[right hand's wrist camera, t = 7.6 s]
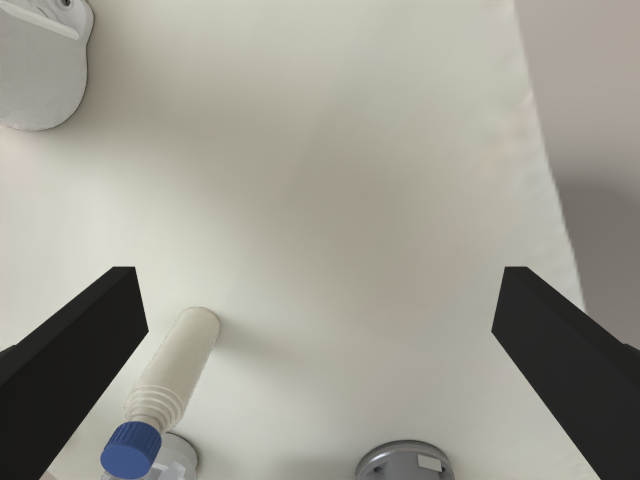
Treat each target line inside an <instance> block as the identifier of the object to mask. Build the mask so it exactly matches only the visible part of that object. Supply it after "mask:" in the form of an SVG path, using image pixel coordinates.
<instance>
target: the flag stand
mask: <svg viewBox="0 0 640 480" xmlns="http://www.w3.org/2000/svg"><path fill="white" fill-rule="evenodd" d="M161 438H162V443H161V448H160V450H159V452H158V454H157V456H156V459H155V461H154V463H153V465H152V467H151V468H150V470H149V472H148V473H147V474H146V475H145V476H143V477H141V478H138V479H122V478H118V477H116V476H113V475H112V474H110V473H109V472H107V471H105V472H104V474H103V476H102V478H101V480H198V477H197V472H196V470H195V469H196V466H197V460H198V459H197V454H196V452H195V450H194V449H193V447H192V446H191V445H190V444H189V443H188V442H186V441H185V440H183V439H182V438H180V437H178V436H176V435H173V434H169V433H164V434H162V435H161Z"/></svg>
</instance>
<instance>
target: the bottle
mask: <svg viewBox="0 0 640 480" xmlns="http://www.w3.org/2000/svg"><path fill="white" fill-rule="evenodd" d="M219 332H220V322H219V320H218V318H217V317H216V315H215V314H214V313H212V312H211V311H209V310H207V309H204V308H200V307H193V308H189V309H187V310H185V311H183V312H182V313H181V315H180V316H179V318H178V319H177V321H176V322H175V324H174V325H173V327H172V328H171V330H170V331H169V333H168V334H167V336H166V338H165V339H164V341H163V342H162V344H161V345H160V347H159V348H158V350H157V351H156V353H155V354H154V356H153V358H152V359H151V361H150V362H149V364H148V365H147V367H146V368H145V370H144V371H143V373H142V374H141V376H140V377H139V379H138V381H137V382H136V384H135V385H134V387H133V388H132V390H131V391H130V393H129V394H128V396H127V399H126V403H125V415H126V422H130V421H140V422H144V423H147V424H149V425H151V426H153V427H154V428H155V429H156V430H157V431H158V432H159V433H160V435H162V434H164V433H165V432H167V431H169V430H170V429H172V428H173V427H175V426H176V425H177V424H178V422H180V420H181V419H182V418H183V416H184V413H185V411H186V409H187V406H188V404H189V402H190V399H191V397H192V395H193V393H194V390H195V388H196V386H197V383H198V381H199V379H200V376H201V374H202V372H203V369H204V367H205V365H206V363H207V360H208V358H209V356H210V353H211V351H212V349H213V346H214V344H215V342H216V339H217V337H218V335H219Z"/></svg>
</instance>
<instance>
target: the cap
mask: <svg viewBox="0 0 640 480" xmlns="http://www.w3.org/2000/svg"><path fill="white" fill-rule="evenodd" d="M161 443H162V438H161V435H160V433H159V432H158V431H157V430H156V429H155V428H154V427H153V426H151V425H149V424H147V423H144V422H140V421H130V422H126V423H124V424H122V425H120V426H119V427H118V428H117V429H116V431H115V432H114V433H113V435H112V437H111V438H110V440H109V442H108V443H107V445H106V446H105V448H104V451H103V453H102V454H101V464H102V466H103V467H104V469H105V470H106V471H107V472H109V473H110V474H112V475H113V476H116V477H118V478H122V479H138V478H141V477H143V476H145V475H146V474H147V473H148V472H149V470H150V468H151V467H152V465H153V463H154V461H155V459H156V456H157V454H158V452H159V450H160V448H161Z"/></svg>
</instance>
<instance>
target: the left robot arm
mask: <svg viewBox="0 0 640 480" xmlns="http://www.w3.org/2000/svg"><path fill="white" fill-rule="evenodd" d="M93 21H94V16H93V12H92V9H91V8H90V6H89V5H88V3H87V2H86V1H85V0H70V5H69V6H67V5H66V0H0V124H1V125H5V126H9V127H12V128H16V129H20V130H28V131H38V130H45V129H49V128H52V127H55V126H57V125H59V124H61V123H62V122H64V121H65V120H67V119H68V118H69V117H70V116H71V115H72V114H73V113H74V112H75V110H76V109H77V107H78V106H79V104H80V102H81V100H82V98H83V95H84V92H85V87H86V81H87V61H86V44H87V42H88V39H89V36H90V33H91V30H92V27H93Z"/></svg>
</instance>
